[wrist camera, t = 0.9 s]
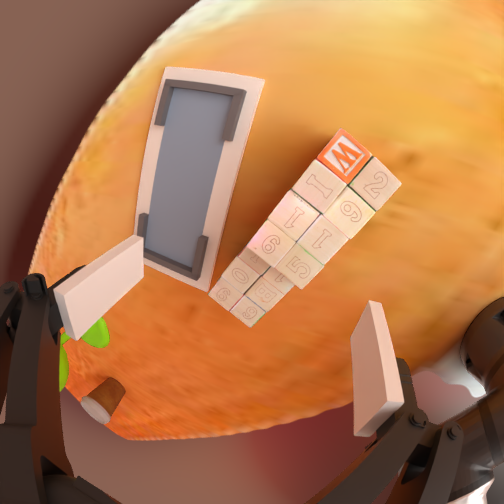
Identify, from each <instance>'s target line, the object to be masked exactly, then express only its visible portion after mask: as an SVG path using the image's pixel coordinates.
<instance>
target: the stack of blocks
mask: <svg viewBox="0 0 504 504" xmlns="http://www.w3.org/2000/svg"><path fill="white" fill-rule="evenodd" d="M400 186H401V182H400V181H399V180H398V179H397V178H396V177H395V176H394V175H393V174H392V173H391V172H390V171H389V170H388V169H387V168H386V167H385V166H384V165H383V164H382V163H381V162H380V161H379V160H378V159H377V158H376V157H373V156H372V154H371V153H370V152H369V151H368V150H367V149H366V148H365V147H363V146H362V145H361V144H360V143H359V142H358V141H357V140H356V139H354V138H353V137H352V136H351V135H350V134H348V133H347V132H346V131H345V130H343V129H342V128H340V129H339V130H338V131H337V133H336V134H335V135H334V136H333V138H332V139H331V140H330V141H329V143H328V144H327V145H326V146H325V148H324V149H323V150H322V151H321V152H320V154H319V155H318V156H317V158H316V159H314V160H313V162H312V163H311V164H310V165H309V167H308V168H307V169H306V171H305V172H304V173H303V174H302V176H301V177H300V178H299V180H298V181H297V182H296V183H295V184H294V185H293V187H292V188H291V189H290V190H289V191H288V192H287V193H286V194H285V195H284V197H283V198H282V200H281V201H280V202H279V203H278V205H277V206H276V207H275V208H274V210H273V211H272V212H271V214H270V215H269V217H268V218H267V220H266V221H265V222H264V223H263V225H262V226H261V227H260V229H259V230H258V231H257V232H256V234H255V235H254V236H253V237H252V239H251V240H250V241H249V242H248V243H247V245H246V246H245V247H244V248H243V249H242V251H241V252H240V253H239V254H238V255H237V256H236V257H235V258H234V260H233V261H232V262H231V263H230V265H229V266H228V267H227V268H226V270H225V271H224V272H223V273H222V275H221V277H220V278H219V279H218V281H217V283H216V284H215V286H214V287H213V288H212V289H211V291H210V292H209V293H208V295H209V296H210V297H211V298H212V299H214V300H215V301H216V302H217V303H219V304H220V305H221V306H222V307H223V308H225V309H226V310H227V311H230V312H231V313H232V314H233V315H234V316H236V317H237V318H238V319H239V320H241V321H242V322H243V323H245V324H246V325H247V326H248V327H250V328H251V327H252V326H253V325H254V324H255V323H256V322H257V321H258V320H259V319H260V318H261V317H262V316H263V315H264V314H265V313H266V312H268V311H269V310H270V309H271V308H272V307H273V306H274V305H275V304H276V303H277V302H278V301H279V300H280V299H281V298H282V297H283V296H284V295H285V294H287V293H288V292H289V291H290V290H291V289H292V288H293V287H294V286H295V285H296V286H297V287H298V288H300V289H303V288H304V287H305V286H306V285H307V284H308V283H309V282H310V281H311V280H312V279H313V278H314V277H315V276H316V275H317V274H318V273H319V272H320V271H321V270H322V269H323V268H324V265H325V264H326V263H327V262H328V261H329V260H330V259H331V258H332V257H333V256H334V255H335V254H336V253H337V252H338V251H339V250H340V249H341V248H342V247H343V246H344V244H345V243H346V242H347V241H348V240H349V239H352V238H353V237H354V236H355V235H356V234H357V233H358V231H359V230H360V229H361V228H362V227H363V226H364V225H365V224H366V223H367V222H368V221H369V220H370V218H371V217H372V216H373V215H374V214H375V212H376V211H378V210H379V209H380V208H381V207H382V206H383V205H384V204H385V203H386V202H387V201H388V199H389V198H390V197H391V196H392V195H393V194H394V193H395V192H396V190H397V189H398V188H399V187H400Z"/></svg>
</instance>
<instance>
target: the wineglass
mask: <svg viewBox="0 0 504 504" xmlns="http://www.w3.org/2000/svg"><path fill="white" fill-rule="evenodd" d="M70 338H71V337H69V336H68V335H66V332H64V333H63V334H62V335H61V340H60V366H59V384H60V392H61V390H62V389H63V388H64V386H65V385H66V382H67V379H68V375H69V363H68V358H67V354H66V351H65V349H64V347H63V346H62V345H63V344H64V343H65V342H66V341H68V340H69V339H70ZM81 338H82V339H83V340H84V341H85V342H86V343H88V344H90V345H91V346H94V347H97V348H104V347H106V346H107V345H108V344H109V339H110V336H109V331H108V328H107V326H106V323H105V321H104V319H103V318H102V317H101V318H100V319H99V320H98V321H97V322H95V323H94V324H93V325H92V326H91V327H90V328H89V329H88V330H87V331H86V332H85V333H84V334H83V335H82V336H81Z"/></svg>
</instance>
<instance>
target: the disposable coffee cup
mask: <svg viewBox="0 0 504 504" xmlns="http://www.w3.org/2000/svg"><path fill="white" fill-rule="evenodd" d="M124 394H125V389H124V388H123V386H122V385H121V384H120V383H119V382H118V381H116V380H115V379H113V378H108V379H107V380H105V381H104V382H103V383H102V384H100V385H99V386H98V387H97V388H95V389H94V390H93V391H92V392H90V393H89V394H88V395H87V396H85V397H82V401H81V405H82V406H83V408H84V409H85V410H86V411H87V412H88V413H89V415H91V416H92V417H93V418H94V419H96V420H97V421H98V422H100V423H102V424H106V423H107V422H110V419H111V416H112V414H113V412H114V411H115V409H116V407H117V406H118V404H119V402H120V401H121V399H122V397H123V396H124Z"/></svg>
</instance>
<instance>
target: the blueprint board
mask: <svg viewBox="0 0 504 504" xmlns="http://www.w3.org/2000/svg"><path fill="white" fill-rule="evenodd" d="M264 82H265V80H264V79H260V78H255V77H250V76H245V75H239V74H233V73H226V72H219V71H211V70H203V69H193V68H181V67H165V70H164V74H163V77H162V81H161V84H160V88H159V91H158V95H157V99H156V103H155V107H154V111H153V115H152V120H151V124H150V129H149V134H148V138H147V143H146V149H145V154H144V159H143V165H142V171H141V178H140V184H139V191H138V199H137V207H136V216H135V226H134V235H136V236H139V237H143V264H145V265H147V266H149V267H151V268H154V269H156V270H158V271H160V272H162V273H164V274H166V275H169V276H171V277H173V278H175V279H178V280H180V281H182V282H184V283H186V284H189V285H191V286H193V287H196V288H198V289H200V290H203V291H205V292H208V291H209V288H210V284H211V279H212V275H213V271H214V267H215V262H216V258H217V254H218V250H219V246H220V242H221V238H222V234H223V230H224V226H225V222H226V218H227V214H228V210H229V206H230V202H231V198H232V195H233V191H234V187H235V183H236V180H237V176H238V172H239V168H240V165H241V161H242V158H243V154H244V150H245V147H246V143H247V140H248V136H249V133H250V129H251V126H252V122H253V119H254V115H255V112H256V109H257V105H258V102H259V99H260V95H261V92H262V89H263V85H264Z"/></svg>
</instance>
